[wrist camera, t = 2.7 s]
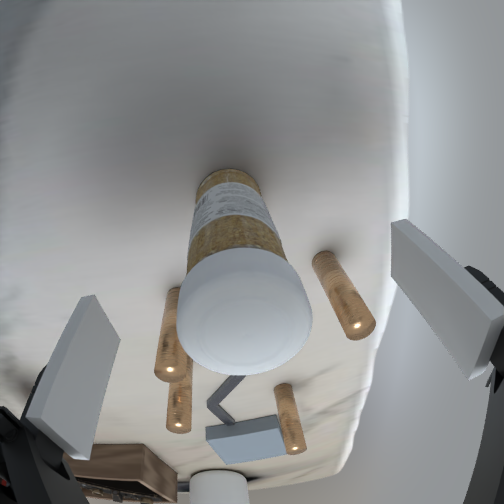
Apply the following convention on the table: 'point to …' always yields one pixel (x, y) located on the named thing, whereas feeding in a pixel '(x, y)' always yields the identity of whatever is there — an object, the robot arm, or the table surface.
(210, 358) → the sprinkles bottle
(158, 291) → the table surface
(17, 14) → the table surface
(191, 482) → the cup
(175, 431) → the wire course
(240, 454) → the pad
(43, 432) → the robot arm
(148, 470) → the camera corral
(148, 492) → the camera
